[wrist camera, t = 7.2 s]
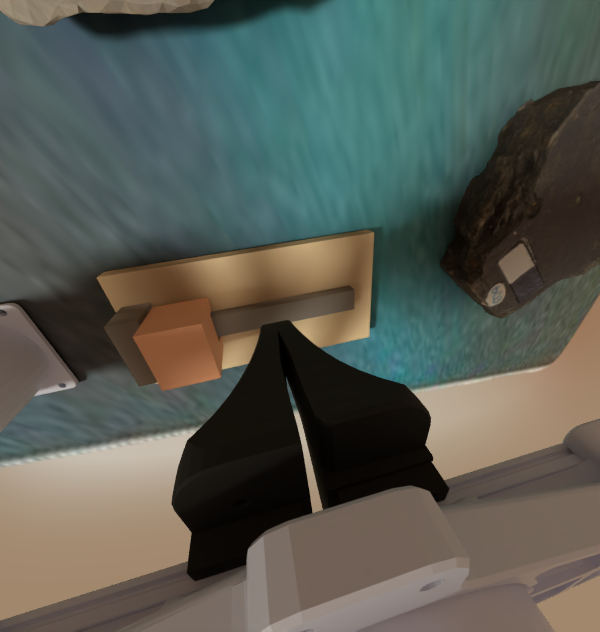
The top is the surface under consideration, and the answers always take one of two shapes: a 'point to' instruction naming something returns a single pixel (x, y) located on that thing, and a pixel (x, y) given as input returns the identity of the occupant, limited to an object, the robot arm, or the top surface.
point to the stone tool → (91, 8)
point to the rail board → (251, 294)
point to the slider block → (181, 343)
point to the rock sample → (532, 204)
